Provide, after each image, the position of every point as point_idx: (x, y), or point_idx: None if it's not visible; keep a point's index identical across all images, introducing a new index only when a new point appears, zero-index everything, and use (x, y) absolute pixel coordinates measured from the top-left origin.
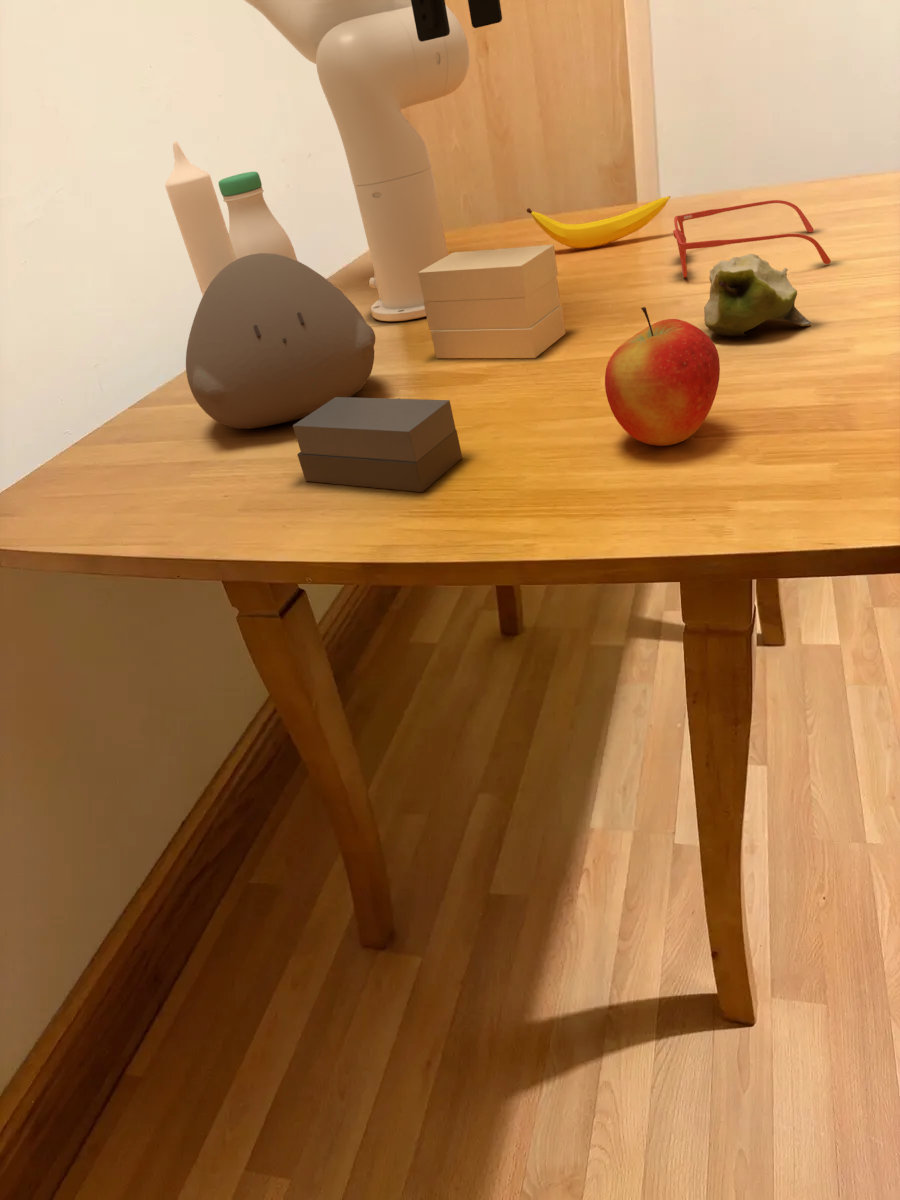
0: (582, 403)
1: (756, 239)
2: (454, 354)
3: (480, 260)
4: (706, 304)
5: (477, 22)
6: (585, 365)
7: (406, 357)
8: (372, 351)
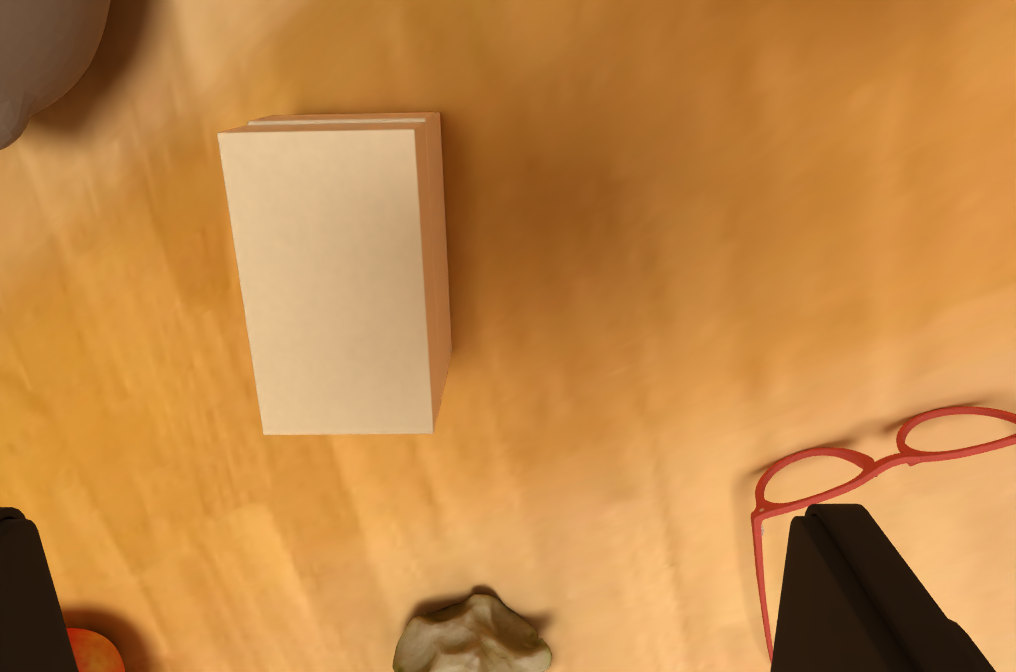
0: (158, 515)
1: (765, 636)
2: None
3: (315, 289)
4: (434, 631)
5: (796, 570)
6: (300, 457)
7: (289, 14)
8: (36, 112)
